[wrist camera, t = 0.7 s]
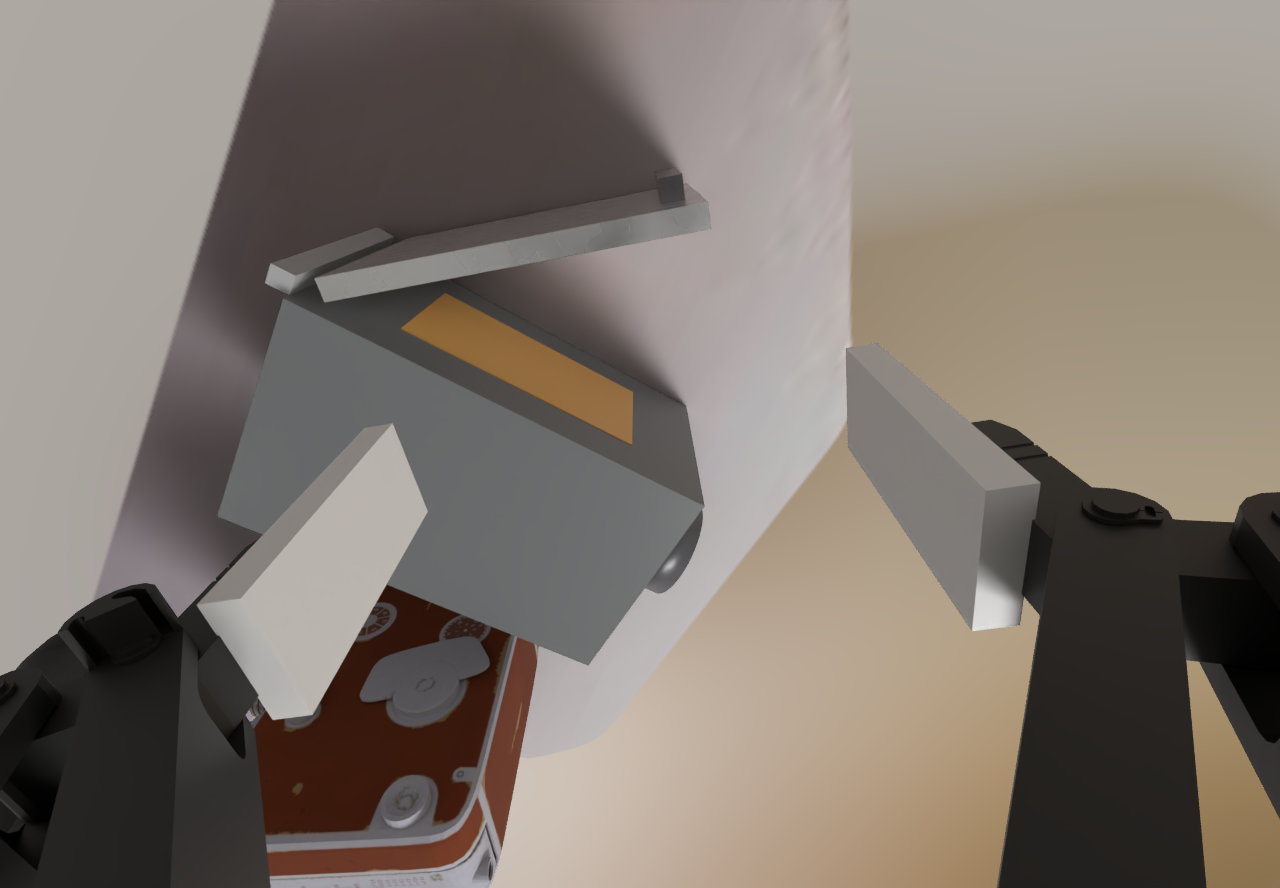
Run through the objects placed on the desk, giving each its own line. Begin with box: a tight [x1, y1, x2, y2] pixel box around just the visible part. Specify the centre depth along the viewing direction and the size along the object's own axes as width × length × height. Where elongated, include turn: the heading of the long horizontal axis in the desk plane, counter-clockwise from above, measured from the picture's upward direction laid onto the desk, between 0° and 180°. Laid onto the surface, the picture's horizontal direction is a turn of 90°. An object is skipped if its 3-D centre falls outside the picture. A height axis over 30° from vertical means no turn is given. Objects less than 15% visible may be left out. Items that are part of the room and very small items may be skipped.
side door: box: [314, 168, 711, 303], centre depth 29 cm, size 2×16×11 cm, turn 100°
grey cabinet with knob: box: [217, 227, 704, 665], centre depth 34 cm, size 13×24×13 cm, turn 60°
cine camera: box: [250, 584, 538, 888], centre depth 38 cm, size 9×19×20 cm, turn 94°
